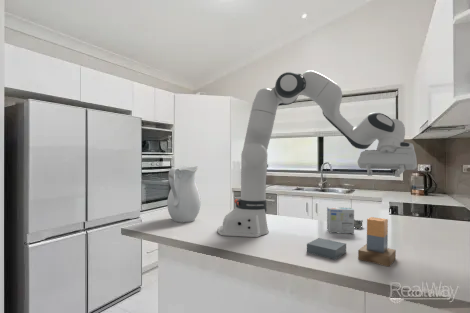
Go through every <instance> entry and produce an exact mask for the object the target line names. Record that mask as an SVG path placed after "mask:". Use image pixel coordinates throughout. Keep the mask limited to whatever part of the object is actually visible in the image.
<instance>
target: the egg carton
mask: <svg viewBox="0 0 470 313" xmlns="http://www.w3.org/2000/svg"><path fill="white" fill-rule="evenodd" d="M363 223H364V220H363V219H362V220H360V219H355V218H354V227H355V228H361V226H362V227H363ZM355 228H354V229H355ZM361 229H362V228H361Z"/></svg>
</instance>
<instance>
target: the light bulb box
mask: <svg viewBox="0 0 470 313" xmlns="http://www.w3.org/2000/svg"><path fill="white" fill-rule="evenodd" d="M326 209H327V210H326V215H327V216H326V230H327V229H328V230H327V231H328V232H329V233H330V232H340V233H339V234H346V233H354V234H355V228H354V219H355V209H354V208H351V207H344V206H343V207H341V206H327V207H326Z"/></svg>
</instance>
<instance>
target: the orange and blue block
mask: <svg viewBox="0 0 470 313" xmlns="http://www.w3.org/2000/svg"><path fill="white" fill-rule="evenodd" d="M388 222H389V219H388V218H383V217H382V218H381V217H374V216H371V217H368V218H367V219H366V244H367V250H369V251H374V252H379V253H383V254H384V253H385V252H386V251H387V248H388V241H389V240H388V237H389V236H388V235H389V234H388V230H389V229H388V227H389V224H388Z"/></svg>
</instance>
